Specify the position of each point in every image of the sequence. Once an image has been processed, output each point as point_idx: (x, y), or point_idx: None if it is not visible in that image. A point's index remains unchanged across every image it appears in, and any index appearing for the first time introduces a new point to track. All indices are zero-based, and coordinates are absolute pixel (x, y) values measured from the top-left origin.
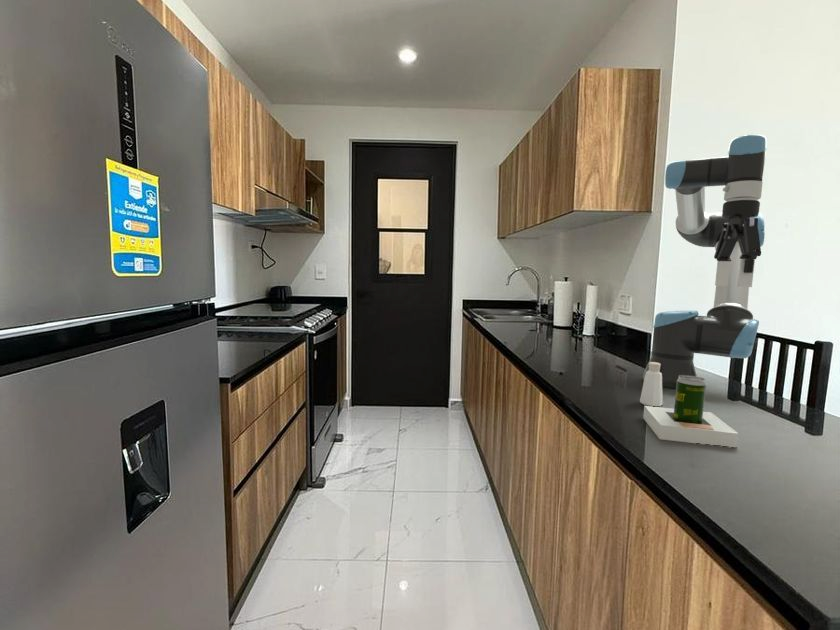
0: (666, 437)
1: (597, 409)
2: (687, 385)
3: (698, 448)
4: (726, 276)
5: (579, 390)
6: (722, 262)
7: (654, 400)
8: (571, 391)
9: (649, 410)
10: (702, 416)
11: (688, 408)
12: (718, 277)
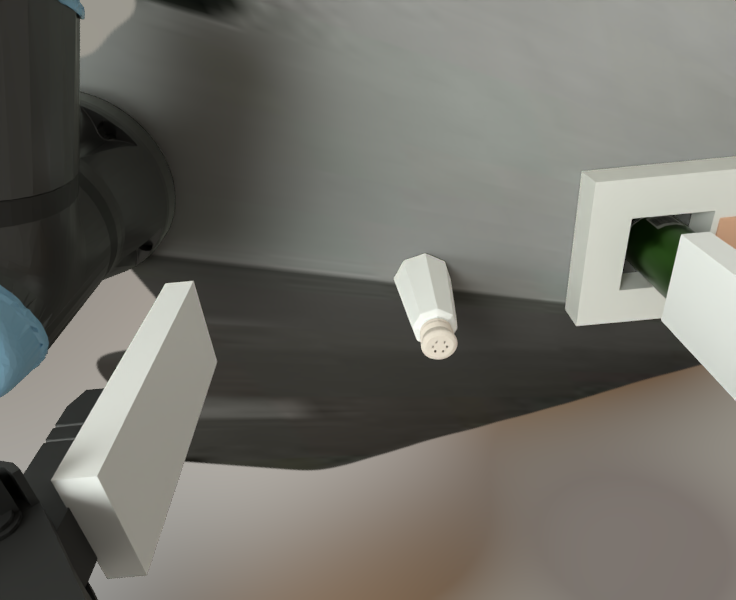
0: None
1: (524, 387)
2: None
3: None
4: (173, 350)
5: (363, 419)
6: (141, 527)
7: (450, 282)
8: (383, 433)
9: (616, 320)
10: (690, 229)
11: None
12: (196, 402)
